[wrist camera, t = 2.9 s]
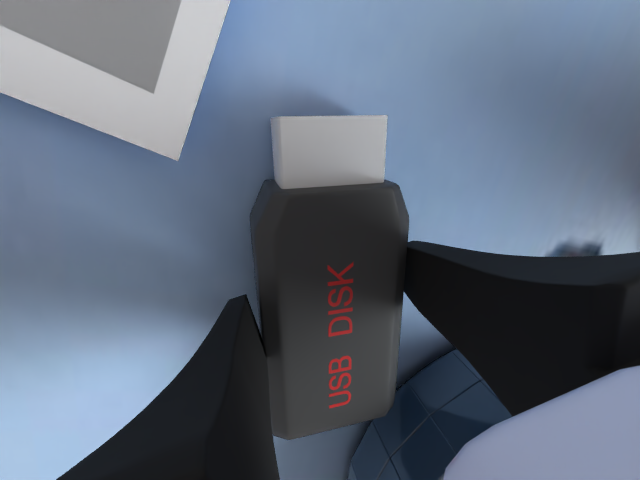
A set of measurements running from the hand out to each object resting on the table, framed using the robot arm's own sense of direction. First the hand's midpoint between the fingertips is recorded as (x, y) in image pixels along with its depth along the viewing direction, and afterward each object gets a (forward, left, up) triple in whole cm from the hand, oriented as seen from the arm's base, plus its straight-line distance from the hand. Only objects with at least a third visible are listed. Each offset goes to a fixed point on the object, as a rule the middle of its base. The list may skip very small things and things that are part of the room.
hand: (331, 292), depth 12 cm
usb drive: (0, 0, -2) cm, 2 cm away
